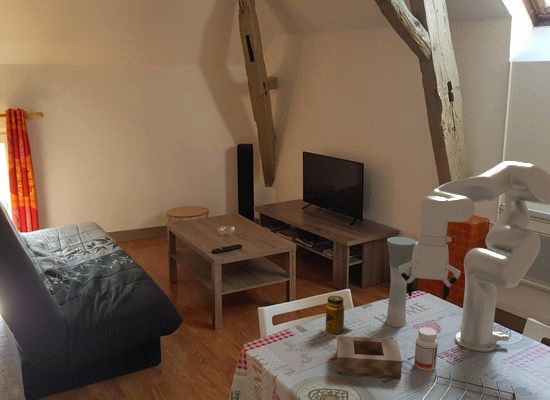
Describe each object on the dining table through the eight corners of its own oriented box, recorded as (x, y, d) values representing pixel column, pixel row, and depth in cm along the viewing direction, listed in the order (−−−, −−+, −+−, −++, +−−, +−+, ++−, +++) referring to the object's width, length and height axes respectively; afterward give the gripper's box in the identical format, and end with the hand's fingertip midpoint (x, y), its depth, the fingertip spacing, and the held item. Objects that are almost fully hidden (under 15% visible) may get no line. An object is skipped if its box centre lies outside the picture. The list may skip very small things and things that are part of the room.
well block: (395, 355, 159) (396, 339, 158) (400, 378, 147) (402, 361, 145) (336, 352, 161) (337, 335, 160) (337, 374, 149) (337, 356, 147)
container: (378, 323, 181) (382, 241, 175) (388, 314, 189) (393, 235, 182) (404, 331, 176) (409, 246, 170) (413, 321, 183) (419, 239, 177)
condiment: (320, 330, 176) (321, 297, 173) (336, 323, 181) (337, 291, 179) (336, 338, 170) (337, 304, 168) (352, 330, 176) (354, 297, 173)
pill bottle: (425, 359, 158) (428, 324, 155) (440, 368, 152) (443, 333, 150) (409, 363, 155) (412, 328, 153) (423, 373, 150) (426, 337, 147)
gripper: (461, 238, 149) (455, 294, 152) (400, 234, 152) (395, 289, 155) (466, 245, 142) (460, 304, 145) (401, 241, 144) (397, 298, 148)
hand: (426, 296), depth 150 cm, fingers open, 9 cm apart
